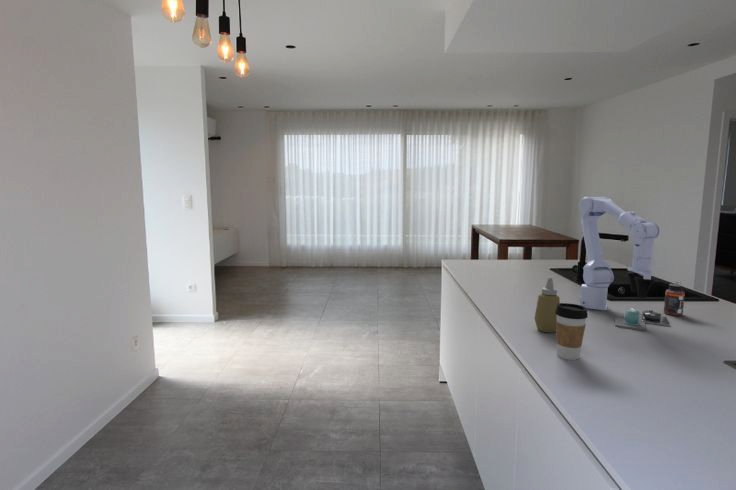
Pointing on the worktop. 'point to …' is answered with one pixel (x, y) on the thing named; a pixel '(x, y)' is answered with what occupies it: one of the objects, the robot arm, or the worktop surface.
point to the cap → (632, 317)
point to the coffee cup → (570, 329)
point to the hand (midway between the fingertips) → (638, 294)
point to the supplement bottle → (674, 300)
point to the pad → (620, 323)
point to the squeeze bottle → (547, 308)
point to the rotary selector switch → (653, 318)
